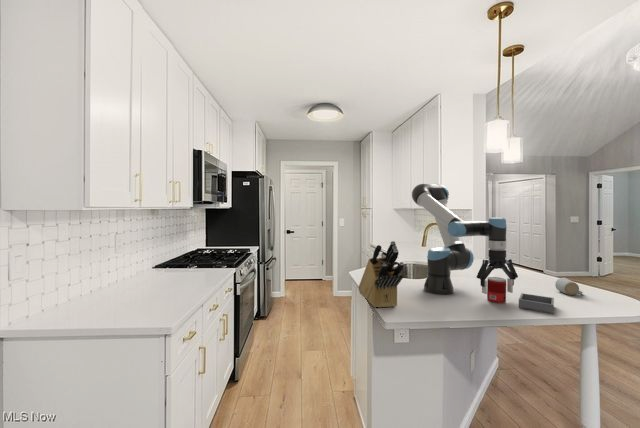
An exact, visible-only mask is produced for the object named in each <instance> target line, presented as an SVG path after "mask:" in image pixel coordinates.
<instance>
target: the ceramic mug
mask: <svg viewBox="0 0 640 428" xmlns="http://www.w3.org/2000/svg"><path fill="white" fill-rule="evenodd" d="M554 287H555V288H556V290H557V291H559V292H561V293H564V294H566V295H568V296H569V295H570V296H575V295H577V294H579V295H583V293H584V292H583V291H582V290H580V287H579V285H578V284H577V282H574V281H573V280H571V279H569V278H567V277H560V278H558V279H557V280H556V281H555V286H554Z"/></svg>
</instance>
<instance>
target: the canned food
mask: <svg viewBox="0 0 640 428" xmlns="http://www.w3.org/2000/svg"><path fill="white" fill-rule="evenodd" d="M486 279H487V294H486V296H487V297H486V299H487V300H488V301H489V302H490V301H491V303H495V304H506V301H507V278H503V277H499V276H488V277H487V278H486Z"/></svg>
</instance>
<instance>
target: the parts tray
mask: <svg viewBox="0 0 640 428" xmlns="http://www.w3.org/2000/svg"><path fill="white" fill-rule="evenodd" d="M554 306H555V298H554V297H550V296H543V295H536V294H529V293H523V292H521V294H520V296H519V298H518V309H523V310H527V311H528V310H529V311H533V312H540V313H545V314H549V315H554Z"/></svg>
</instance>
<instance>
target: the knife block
mask: <svg viewBox="0 0 640 428" xmlns="http://www.w3.org/2000/svg"><path fill="white" fill-rule="evenodd" d="M381 251H382V246H381V245H380V244H377V245H376V246H375V249H374V251H373V255H372V258H369V259H368V262H367V263H366V267H365V270H364V272H363V273H362V276H361V279H360V283H359V285H358V291H359V294H360V295H361V296H362V297H363V298H364V299H365V300H366V301H368V302H369V304H371V305H372V307H373V308H376V307H378V308H385V307H392V306H395V307H397V306H398V286H399V284H400V283H401V282H402V279H404V275H402V274H400V273H402V270H404V267H405V263H404V262H402V261H401V262H397V259H398V257H399V249H398V247H397V243H396V241H394V240H392V241H390V245H389V246H388V248H387V250H386V252H385V256H384V257H378V256H379V254H380V252H381ZM396 265H397V266H396ZM395 266H396V267H395ZM376 309H377V308H376Z"/></svg>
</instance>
